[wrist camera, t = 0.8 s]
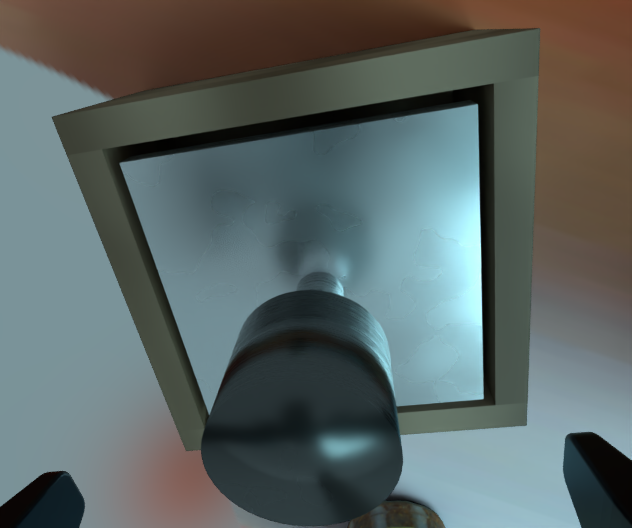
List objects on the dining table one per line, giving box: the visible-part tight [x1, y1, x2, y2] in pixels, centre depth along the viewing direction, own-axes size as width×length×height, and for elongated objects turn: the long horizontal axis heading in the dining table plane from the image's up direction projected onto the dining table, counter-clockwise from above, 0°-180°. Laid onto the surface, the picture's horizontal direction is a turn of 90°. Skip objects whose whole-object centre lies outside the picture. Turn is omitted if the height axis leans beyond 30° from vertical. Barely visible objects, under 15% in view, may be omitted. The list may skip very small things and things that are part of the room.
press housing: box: [52, 28, 540, 451], centre depth 16 cm, size 12×12×6 cm
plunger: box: [120, 100, 484, 526], centre depth 11 cm, size 9×9×7 cm
